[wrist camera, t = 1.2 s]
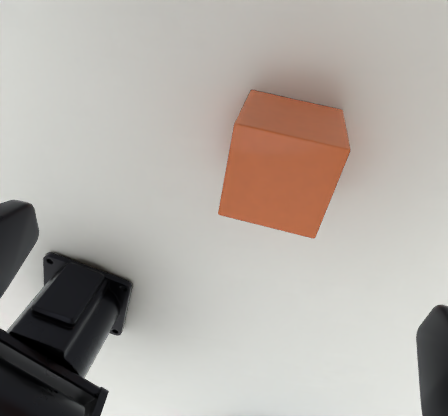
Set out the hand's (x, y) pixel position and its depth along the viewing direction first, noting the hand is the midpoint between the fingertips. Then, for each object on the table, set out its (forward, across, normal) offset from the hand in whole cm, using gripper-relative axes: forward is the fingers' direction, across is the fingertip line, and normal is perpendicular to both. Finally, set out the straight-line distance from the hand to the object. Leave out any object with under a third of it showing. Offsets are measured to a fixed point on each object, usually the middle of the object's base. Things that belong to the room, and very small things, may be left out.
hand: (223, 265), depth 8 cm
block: (+11, -1, +1) cm, 11 cm away
